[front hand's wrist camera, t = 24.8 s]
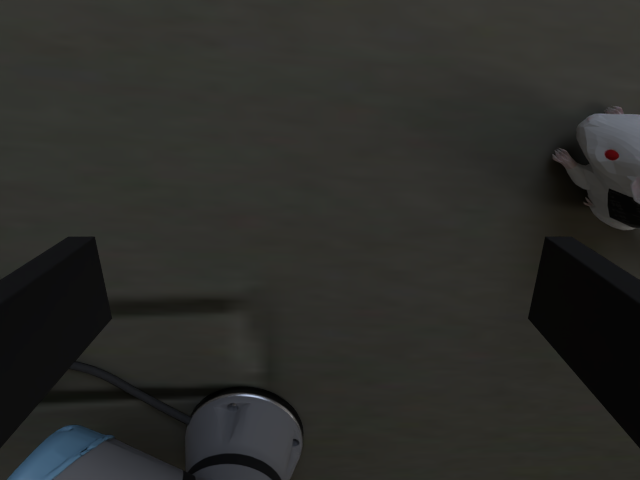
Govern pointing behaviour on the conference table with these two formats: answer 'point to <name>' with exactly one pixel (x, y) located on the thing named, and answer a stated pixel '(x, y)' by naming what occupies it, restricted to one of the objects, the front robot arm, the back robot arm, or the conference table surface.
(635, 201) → the toy
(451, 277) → the conference table surface
